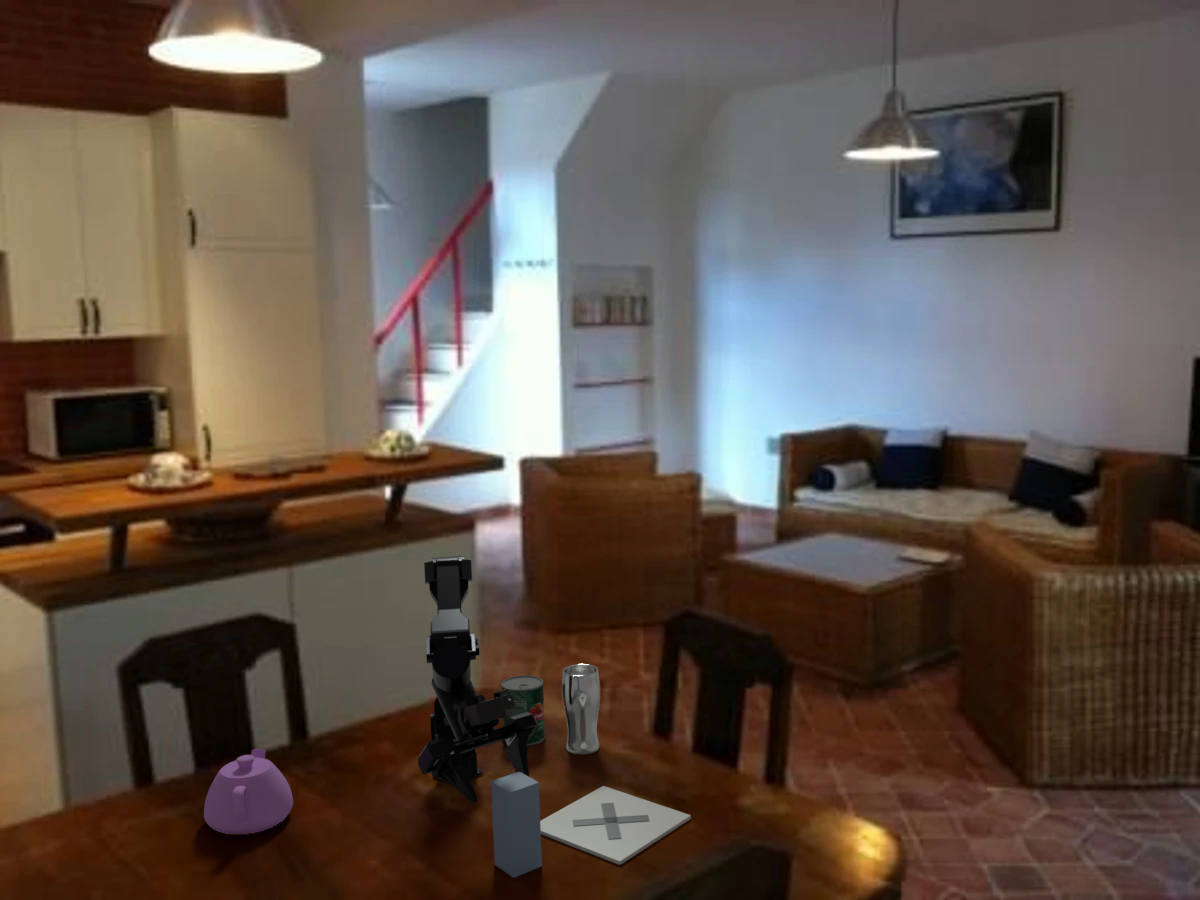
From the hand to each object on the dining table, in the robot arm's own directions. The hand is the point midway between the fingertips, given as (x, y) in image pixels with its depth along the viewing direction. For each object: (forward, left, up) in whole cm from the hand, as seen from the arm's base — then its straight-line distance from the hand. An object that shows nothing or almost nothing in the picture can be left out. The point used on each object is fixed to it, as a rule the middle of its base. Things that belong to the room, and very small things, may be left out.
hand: (502, 792), depth 166 cm
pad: (+6, +17, -10) cm, 21 cm away
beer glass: (-17, +37, -10) cm, 42 cm away
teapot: (-43, -16, -10) cm, 47 cm away
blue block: (+3, -1, -10) cm, 11 cm away
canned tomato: (-29, +34, -10) cm, 46 cm away
